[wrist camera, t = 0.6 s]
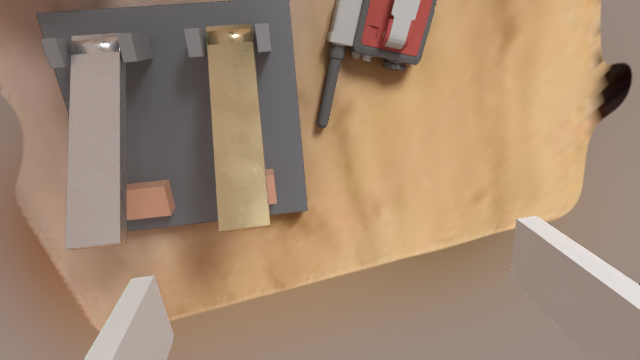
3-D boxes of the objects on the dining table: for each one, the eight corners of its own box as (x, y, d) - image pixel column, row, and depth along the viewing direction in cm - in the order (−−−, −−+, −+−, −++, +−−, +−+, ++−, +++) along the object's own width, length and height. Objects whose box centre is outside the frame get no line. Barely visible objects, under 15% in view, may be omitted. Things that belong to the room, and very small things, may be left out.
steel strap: (81, 46, 29) (69, 33, 27) (127, 42, 29) (117, 30, 28) (76, 250, 25) (62, 248, 24) (128, 243, 26) (117, 242, 24)
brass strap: (209, 36, 30) (205, 24, 28) (253, 33, 30) (250, 20, 29) (222, 232, 26) (217, 230, 25) (271, 227, 27) (269, 224, 25)
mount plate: (49, 14, 31) (1, 9, 25) (287, -1, 32) (290, -9, 27) (115, 224, 38) (89, 256, 33) (306, 202, 40) (311, 229, 34)
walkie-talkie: (355, -111, 30) (309, 123, 37) (368, -134, 26) (314, 133, 33) (451, -82, 32) (390, 137, 39) (477, -99, 28) (404, 149, 35)
